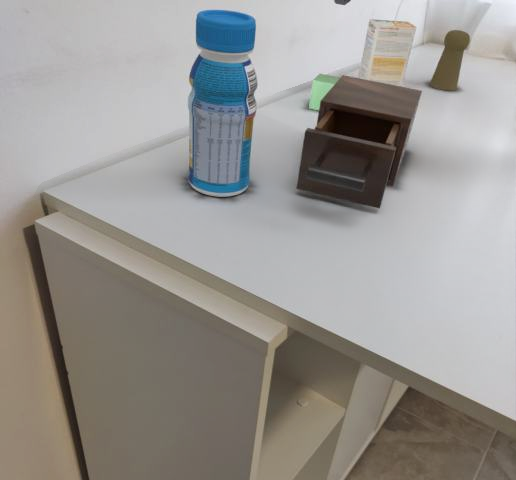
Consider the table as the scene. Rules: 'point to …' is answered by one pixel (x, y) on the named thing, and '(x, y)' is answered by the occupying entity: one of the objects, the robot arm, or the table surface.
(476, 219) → the table surface
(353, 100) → the cabinet
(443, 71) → the olive pawn
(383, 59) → the supplement box
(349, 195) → the drawer
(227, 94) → the beverage bottle
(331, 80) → the block
